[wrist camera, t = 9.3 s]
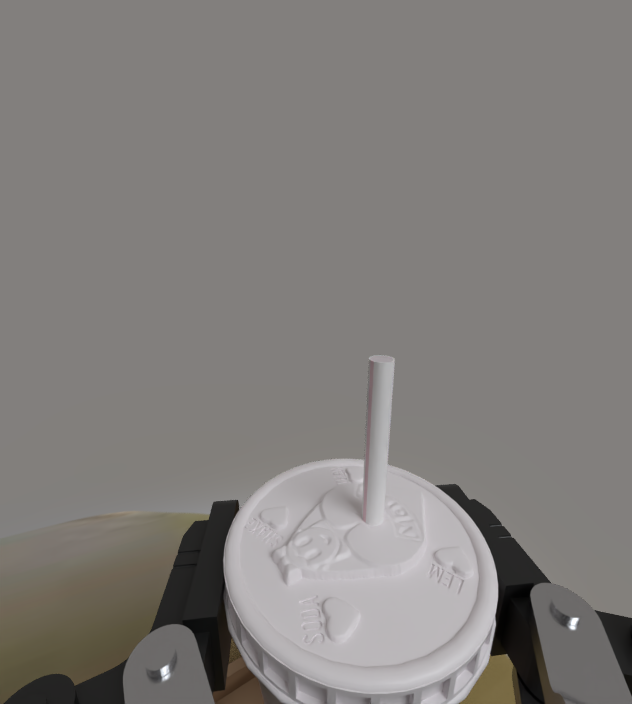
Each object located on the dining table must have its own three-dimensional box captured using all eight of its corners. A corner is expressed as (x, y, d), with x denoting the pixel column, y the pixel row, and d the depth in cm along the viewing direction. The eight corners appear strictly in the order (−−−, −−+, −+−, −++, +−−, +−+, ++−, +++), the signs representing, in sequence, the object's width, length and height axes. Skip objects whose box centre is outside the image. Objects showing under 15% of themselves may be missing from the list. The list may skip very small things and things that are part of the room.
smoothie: (497, 827, 10) (616, 382, 6) (307, 1100, 7) (297, 527, 3) (361, 627, 15) (377, 322, 11) (219, 725, 12) (173, 348, 8)
